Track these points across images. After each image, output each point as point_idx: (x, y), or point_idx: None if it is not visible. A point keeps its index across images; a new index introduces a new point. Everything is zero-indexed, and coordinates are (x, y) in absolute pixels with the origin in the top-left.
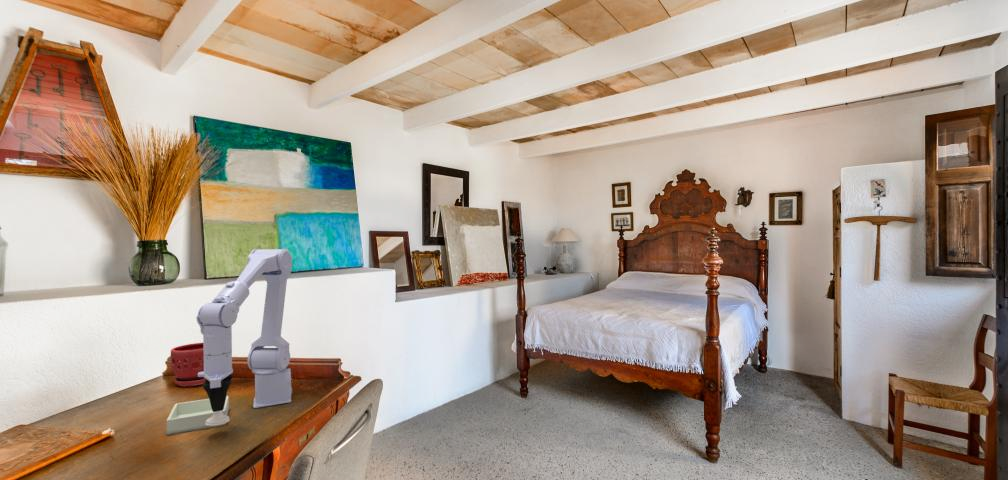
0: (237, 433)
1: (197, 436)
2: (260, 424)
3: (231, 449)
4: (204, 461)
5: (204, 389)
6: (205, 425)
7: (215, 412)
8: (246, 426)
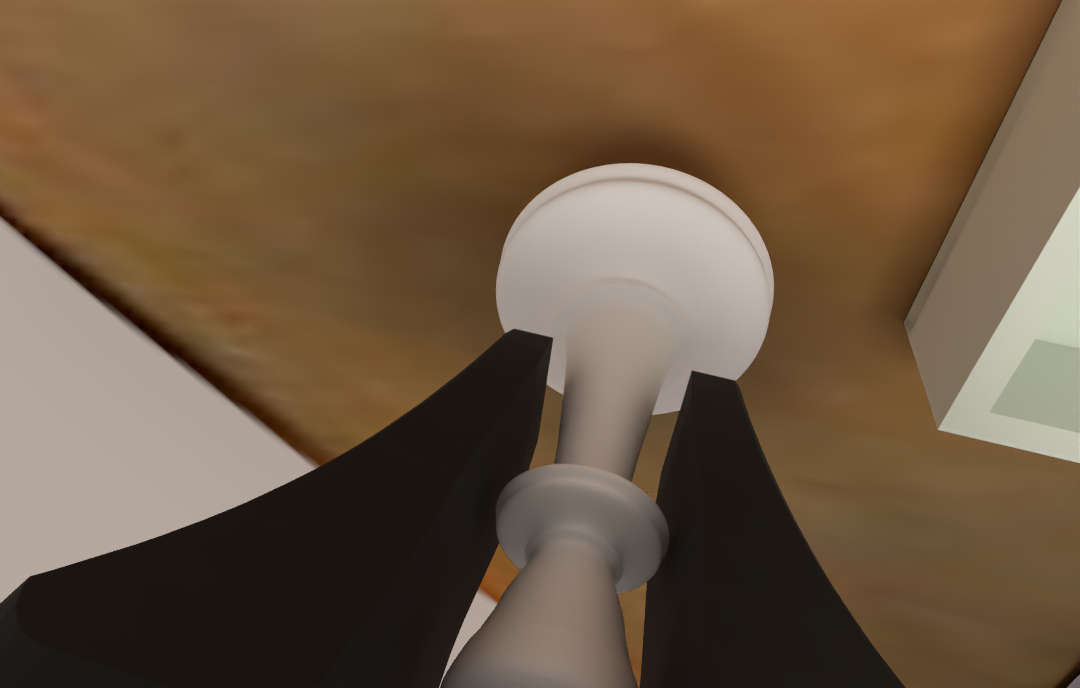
0: None
1: (786, 24)
2: None
3: (256, 256)
4: (97, 46)
5: (54, 570)
6: (1011, 147)
7: (580, 343)
8: None
